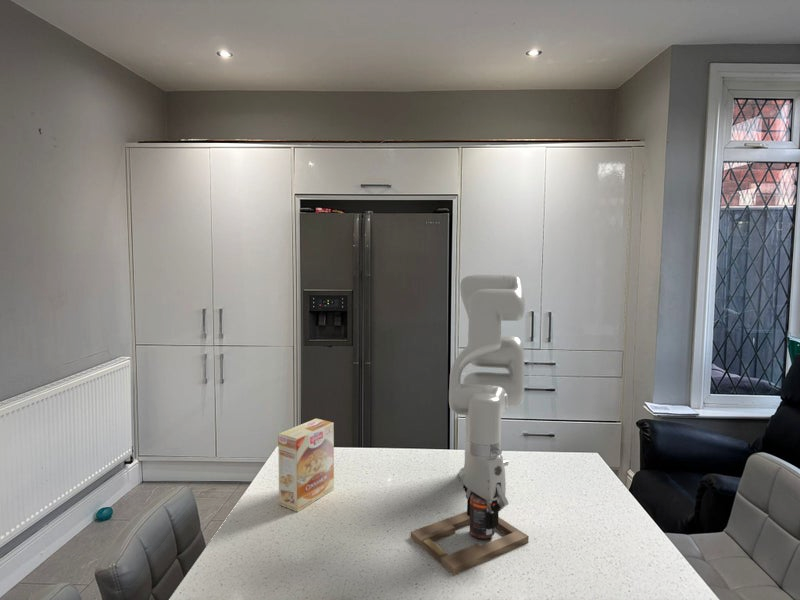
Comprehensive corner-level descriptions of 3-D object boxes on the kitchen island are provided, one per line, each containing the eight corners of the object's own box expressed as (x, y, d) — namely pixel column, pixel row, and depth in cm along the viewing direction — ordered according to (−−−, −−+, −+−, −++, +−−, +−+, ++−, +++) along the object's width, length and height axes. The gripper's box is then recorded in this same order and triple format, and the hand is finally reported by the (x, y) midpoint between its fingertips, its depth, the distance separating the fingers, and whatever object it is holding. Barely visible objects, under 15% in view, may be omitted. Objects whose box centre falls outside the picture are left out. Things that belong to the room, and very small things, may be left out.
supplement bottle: (497, 540, 114) (498, 493, 113) (471, 539, 114) (471, 492, 113) (492, 525, 120) (493, 481, 119) (467, 525, 120) (468, 480, 119)
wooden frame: (481, 511, 127) (481, 504, 127) (528, 542, 114) (528, 534, 114) (410, 537, 115) (410, 530, 115) (453, 575, 102) (453, 567, 102)
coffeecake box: (297, 512, 126) (296, 439, 124) (277, 505, 130) (276, 433, 128) (335, 489, 139) (334, 421, 137) (316, 482, 143) (315, 417, 141)
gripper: (523, 456, 109) (520, 533, 111) (471, 432, 124) (470, 501, 126) (498, 463, 105) (496, 544, 107) (448, 438, 120) (447, 509, 122)
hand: (482, 520), depth 116 cm, fingers closed on supplement bottle, 6 cm apart
